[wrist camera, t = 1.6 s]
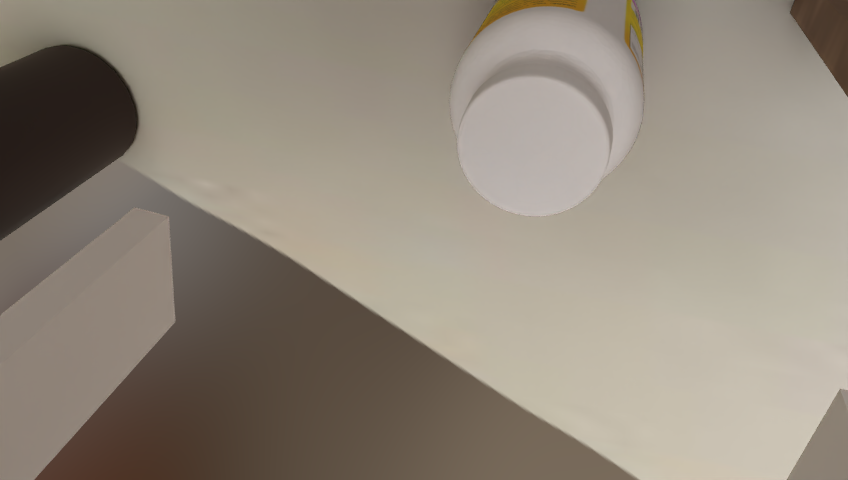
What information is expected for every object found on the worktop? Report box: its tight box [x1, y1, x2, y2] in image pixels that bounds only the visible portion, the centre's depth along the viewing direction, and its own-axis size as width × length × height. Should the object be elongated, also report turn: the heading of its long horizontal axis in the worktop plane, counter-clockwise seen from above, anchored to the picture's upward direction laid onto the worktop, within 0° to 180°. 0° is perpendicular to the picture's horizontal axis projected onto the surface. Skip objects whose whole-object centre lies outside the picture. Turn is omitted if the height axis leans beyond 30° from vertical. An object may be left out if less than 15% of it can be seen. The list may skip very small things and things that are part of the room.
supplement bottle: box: [450, 0, 644, 217], centre depth 28 cm, size 7×7×13 cm
